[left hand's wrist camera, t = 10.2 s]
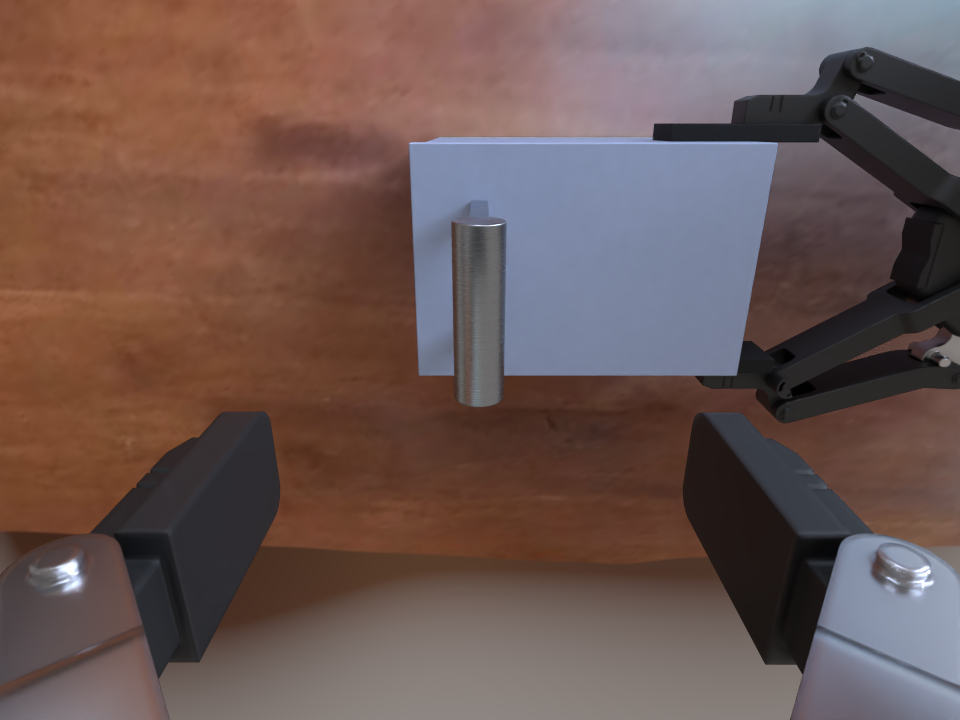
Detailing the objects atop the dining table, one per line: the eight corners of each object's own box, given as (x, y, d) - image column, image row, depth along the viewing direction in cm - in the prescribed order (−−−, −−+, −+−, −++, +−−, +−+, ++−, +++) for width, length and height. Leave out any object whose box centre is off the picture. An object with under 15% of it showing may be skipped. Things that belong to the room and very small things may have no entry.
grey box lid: (420, 368, 28) (397, 460, 21) (411, 142, 25) (378, 150, 17) (728, 368, 28) (823, 461, 21) (767, 142, 25) (902, 150, 17)
